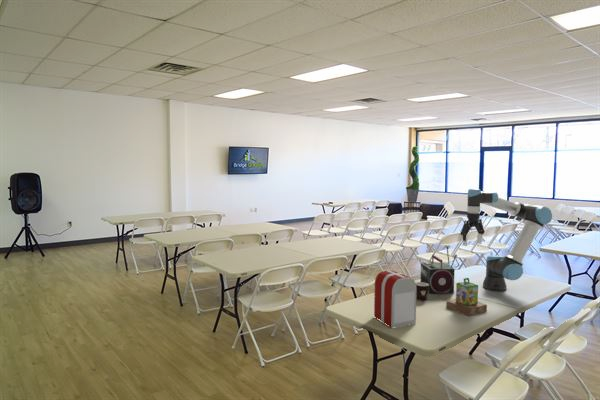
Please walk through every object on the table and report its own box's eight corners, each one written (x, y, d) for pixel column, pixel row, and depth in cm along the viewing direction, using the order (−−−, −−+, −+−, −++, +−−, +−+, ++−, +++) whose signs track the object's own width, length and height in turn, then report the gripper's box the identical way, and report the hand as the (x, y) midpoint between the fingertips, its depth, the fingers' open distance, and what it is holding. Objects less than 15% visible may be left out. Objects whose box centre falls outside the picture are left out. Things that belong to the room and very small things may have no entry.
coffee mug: (429, 298, 258) (429, 283, 257) (427, 302, 251) (427, 286, 250) (410, 295, 263) (411, 280, 262) (408, 299, 255) (409, 284, 255)
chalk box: (467, 306, 232) (468, 281, 231) (455, 301, 240) (456, 277, 239) (478, 303, 237) (479, 279, 235) (465, 298, 245) (466, 275, 243)
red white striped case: (391, 328, 210) (392, 279, 208) (373, 317, 227) (373, 271, 224) (416, 323, 217) (417, 276, 214) (396, 312, 233) (397, 268, 231)
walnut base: (464, 302, 249) (464, 296, 249) (486, 311, 235) (486, 304, 235) (446, 307, 242) (446, 300, 242) (468, 315, 228) (468, 309, 227)
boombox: (418, 285, 284) (419, 245, 281) (446, 285, 285) (447, 244, 282) (427, 294, 266) (428, 250, 263) (457, 293, 267) (459, 250, 264)
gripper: (481, 210, 266) (480, 241, 268) (455, 213, 254) (454, 245, 256) (491, 212, 259) (489, 243, 261) (464, 214, 248) (463, 247, 250)
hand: (472, 244), depth 259 cm, fingers open, 13 cm apart
